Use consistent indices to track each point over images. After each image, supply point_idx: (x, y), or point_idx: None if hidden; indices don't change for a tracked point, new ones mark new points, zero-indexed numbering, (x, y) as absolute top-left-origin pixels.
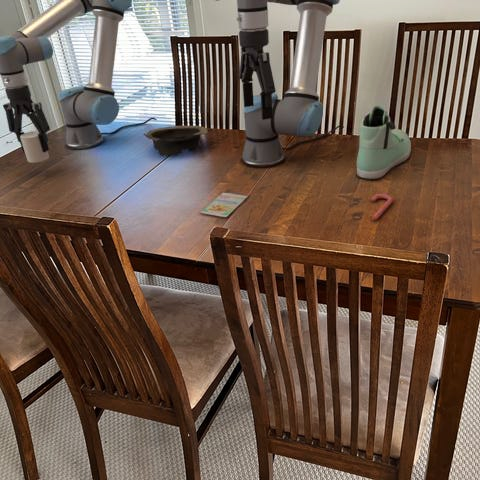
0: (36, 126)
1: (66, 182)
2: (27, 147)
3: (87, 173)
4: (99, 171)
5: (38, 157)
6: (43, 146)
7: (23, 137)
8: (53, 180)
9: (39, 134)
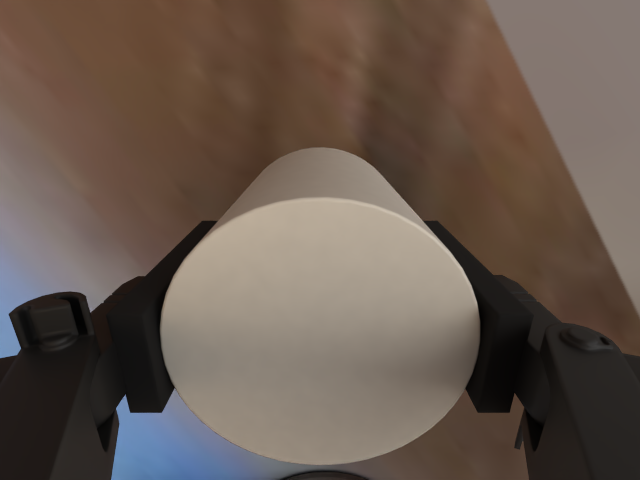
0: (19, 444)
1: (94, 97)
2: (324, 170)
3: (64, 229)
4: (17, 257)
5: (260, 174)
6: (183, 245)
7: (367, 227)
8: (199, 119)
9: (74, 299)
